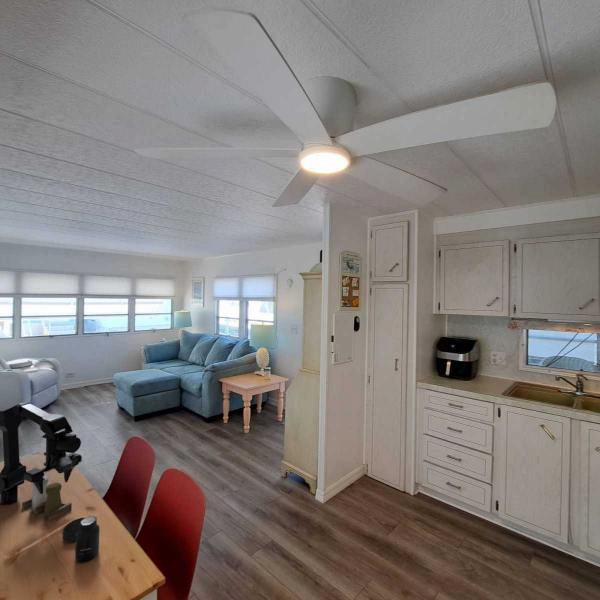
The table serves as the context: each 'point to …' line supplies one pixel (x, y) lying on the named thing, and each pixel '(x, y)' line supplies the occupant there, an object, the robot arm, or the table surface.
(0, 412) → the robot arm
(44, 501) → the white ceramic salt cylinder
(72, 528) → the black round bowl
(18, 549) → the table surface
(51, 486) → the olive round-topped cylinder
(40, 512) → the walnut slot rack
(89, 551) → the supplement bottle
